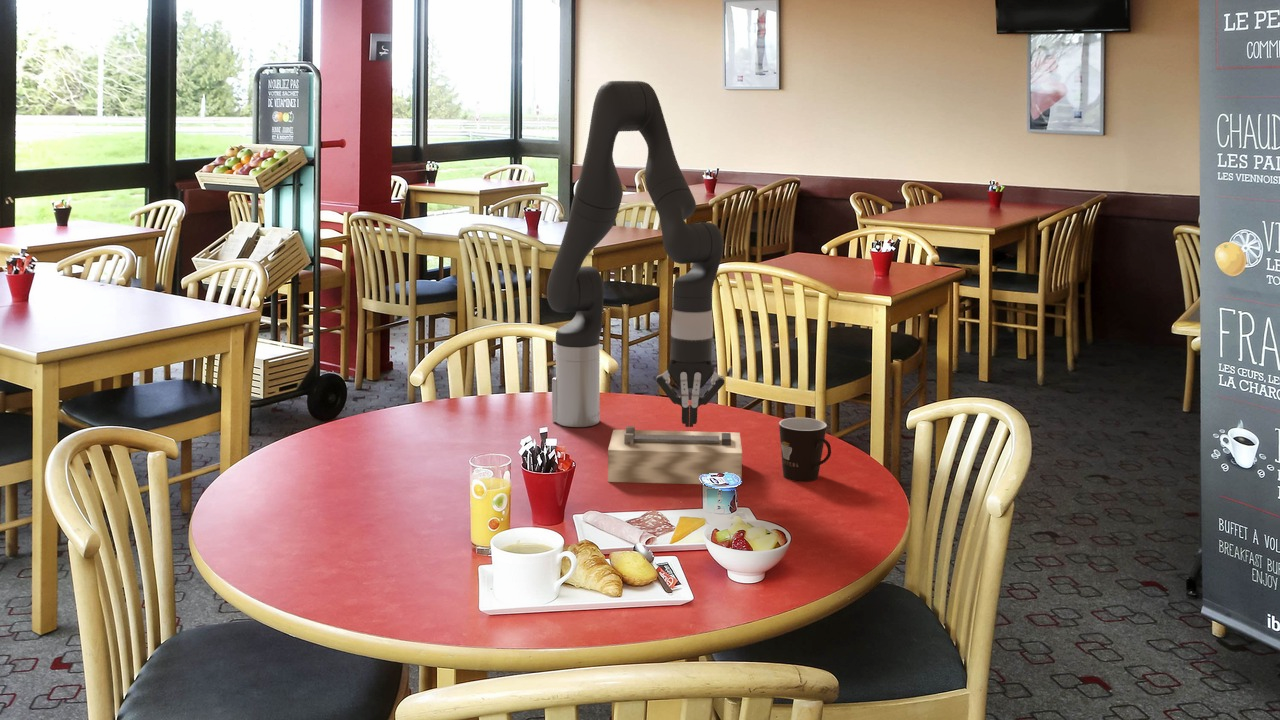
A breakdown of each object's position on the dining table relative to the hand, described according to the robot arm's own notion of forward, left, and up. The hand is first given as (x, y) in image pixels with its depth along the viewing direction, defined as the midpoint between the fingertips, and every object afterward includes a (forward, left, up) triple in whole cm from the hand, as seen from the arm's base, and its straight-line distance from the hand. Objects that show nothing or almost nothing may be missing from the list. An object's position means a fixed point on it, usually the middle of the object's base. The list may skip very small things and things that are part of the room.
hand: (689, 425), depth 212 cm
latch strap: (-2, -1, -3) cm, 4 cm away
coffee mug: (+20, +7, -9) cm, 23 cm away
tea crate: (-2, -1, -9) cm, 9 cm away
